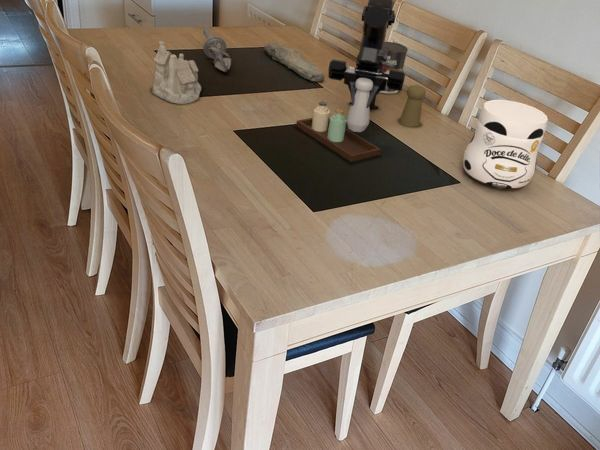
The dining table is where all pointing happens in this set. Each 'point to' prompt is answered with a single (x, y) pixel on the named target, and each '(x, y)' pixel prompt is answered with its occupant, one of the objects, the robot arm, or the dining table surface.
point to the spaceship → (216, 50)
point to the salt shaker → (360, 106)
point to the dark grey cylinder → (394, 61)
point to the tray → (348, 148)
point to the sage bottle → (337, 126)
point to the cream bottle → (320, 117)
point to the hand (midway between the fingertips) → (359, 106)
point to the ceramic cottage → (175, 77)
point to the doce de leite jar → (505, 144)
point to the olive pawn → (413, 106)
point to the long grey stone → (294, 61)
